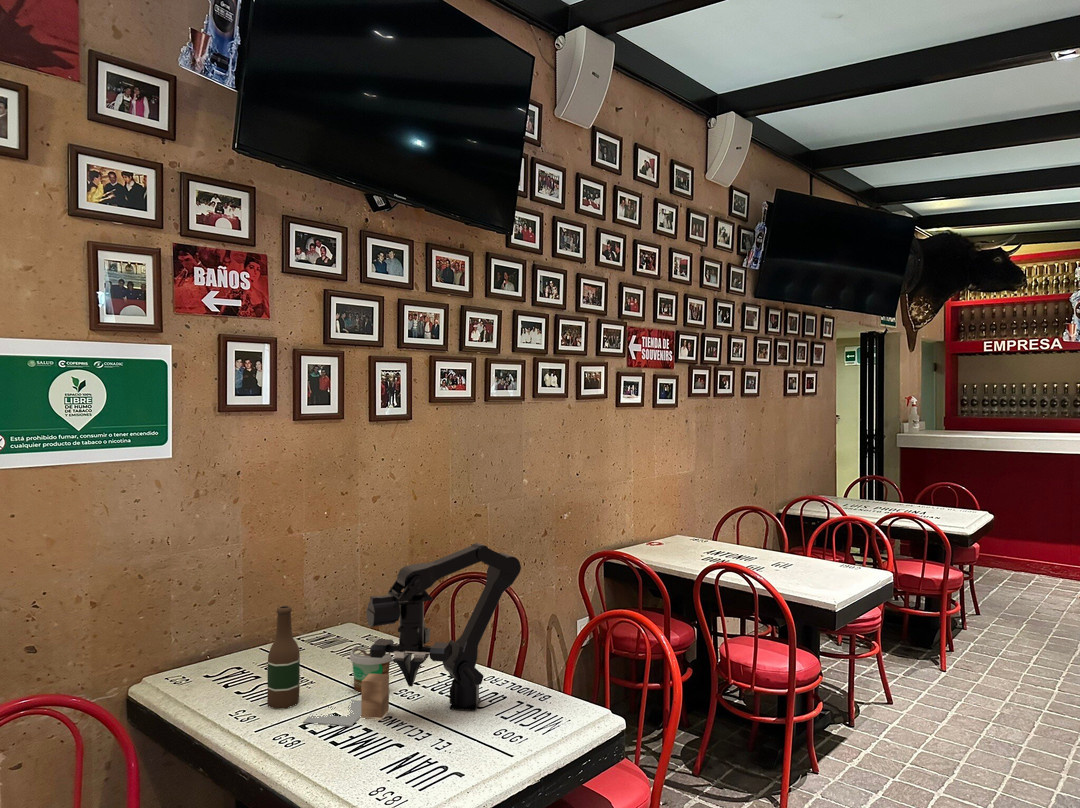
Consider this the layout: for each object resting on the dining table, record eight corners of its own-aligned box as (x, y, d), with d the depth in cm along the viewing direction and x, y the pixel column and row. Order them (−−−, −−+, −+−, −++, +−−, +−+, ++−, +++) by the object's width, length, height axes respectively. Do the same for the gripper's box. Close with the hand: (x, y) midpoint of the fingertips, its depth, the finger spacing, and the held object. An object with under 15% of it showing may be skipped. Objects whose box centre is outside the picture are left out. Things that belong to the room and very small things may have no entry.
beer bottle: (289, 711, 178) (290, 612, 178) (260, 708, 179) (261, 610, 179) (305, 698, 185) (306, 603, 185) (278, 695, 187) (278, 601, 187)
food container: (339, 690, 191) (339, 651, 191) (355, 682, 196) (355, 645, 196) (376, 699, 185) (376, 659, 185) (391, 691, 191) (392, 652, 191)
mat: (373, 702, 183) (373, 701, 183) (351, 726, 169) (351, 725, 169) (328, 699, 185) (328, 698, 185) (302, 723, 171) (302, 721, 171)
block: (388, 711, 178) (389, 674, 178) (381, 720, 173) (381, 682, 173) (369, 710, 179) (369, 673, 179) (361, 718, 174) (361, 681, 174)
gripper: (458, 613, 181) (457, 676, 181) (385, 609, 184) (385, 671, 184) (446, 626, 170) (445, 693, 170) (369, 622, 173) (368, 688, 173)
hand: (410, 685), depth 174 cm, fingers closed
